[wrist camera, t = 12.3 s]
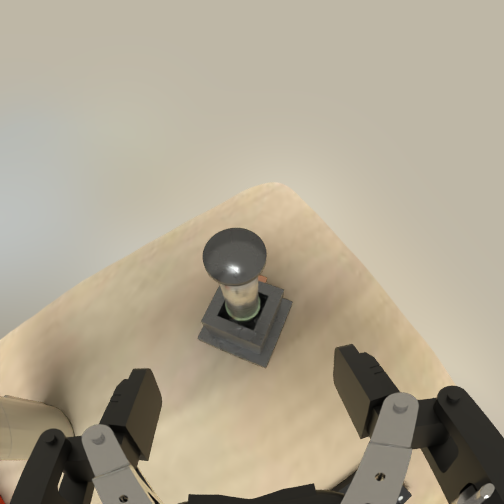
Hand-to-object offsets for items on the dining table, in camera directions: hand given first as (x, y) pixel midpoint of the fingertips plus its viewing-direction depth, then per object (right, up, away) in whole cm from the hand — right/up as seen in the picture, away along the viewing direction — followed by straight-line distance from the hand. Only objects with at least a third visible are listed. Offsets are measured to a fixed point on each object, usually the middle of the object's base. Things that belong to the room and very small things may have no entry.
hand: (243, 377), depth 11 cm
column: (-1, -2, +22) cm, 22 cm away
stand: (0, -5, +27) cm, 27 cm away
